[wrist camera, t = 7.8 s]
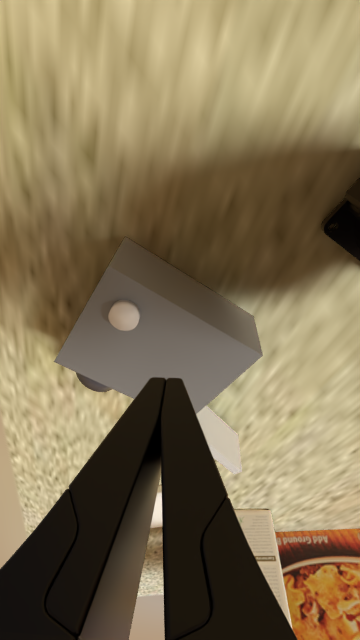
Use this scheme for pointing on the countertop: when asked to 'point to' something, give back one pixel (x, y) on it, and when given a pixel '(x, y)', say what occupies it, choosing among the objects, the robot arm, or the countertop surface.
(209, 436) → the side door
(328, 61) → the countertop surface
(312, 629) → the cereal box
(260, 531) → the syrup box
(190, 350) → the camera block
